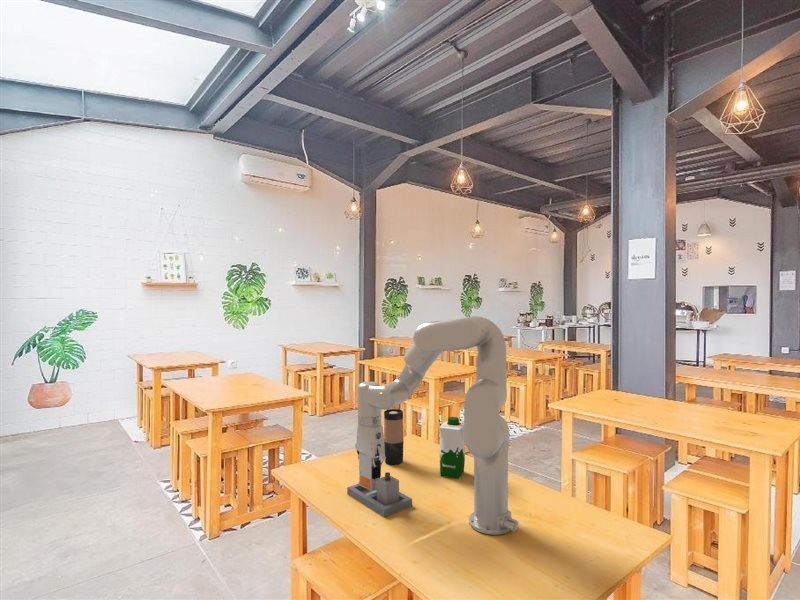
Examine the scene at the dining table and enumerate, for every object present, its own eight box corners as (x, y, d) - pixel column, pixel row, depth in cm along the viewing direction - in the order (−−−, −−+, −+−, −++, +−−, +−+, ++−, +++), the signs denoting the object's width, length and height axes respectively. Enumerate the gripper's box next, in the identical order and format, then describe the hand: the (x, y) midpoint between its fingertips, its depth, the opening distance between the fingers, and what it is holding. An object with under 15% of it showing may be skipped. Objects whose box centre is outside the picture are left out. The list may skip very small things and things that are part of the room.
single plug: (399, 505, 140) (398, 473, 140) (386, 510, 137) (386, 478, 137) (389, 499, 144) (389, 468, 144) (376, 504, 141) (376, 472, 141)
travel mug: (407, 460, 179) (406, 410, 178) (396, 467, 172) (396, 415, 172) (391, 457, 183) (390, 408, 182) (380, 463, 176) (379, 412, 176)
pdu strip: (412, 507, 140) (412, 496, 140) (384, 519, 133) (383, 507, 133) (374, 486, 155) (374, 476, 155) (347, 495, 148) (347, 485, 148)
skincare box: (358, 486, 148) (358, 449, 148) (368, 481, 151) (368, 446, 151) (371, 491, 144) (371, 454, 144) (381, 487, 147) (380, 450, 147)
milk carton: (466, 471, 168) (466, 417, 167) (460, 480, 159) (460, 424, 159) (444, 467, 171) (443, 415, 171) (436, 476, 163) (436, 422, 162)
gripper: (395, 424, 143) (395, 480, 143) (363, 412, 156) (364, 463, 157) (375, 428, 138) (376, 486, 139) (345, 416, 152) (345, 469, 152)
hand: (369, 474), depth 148 cm, fingers closed on skincare box, 6 cm apart
